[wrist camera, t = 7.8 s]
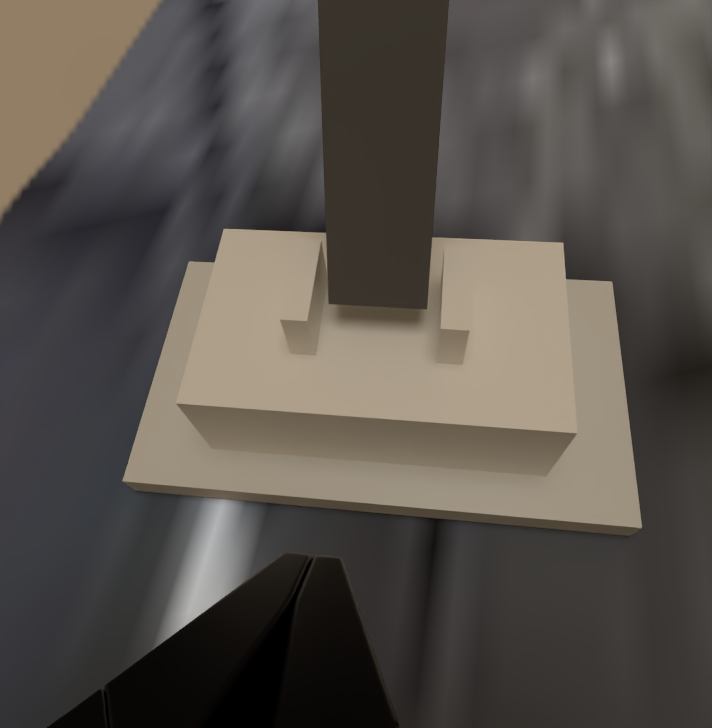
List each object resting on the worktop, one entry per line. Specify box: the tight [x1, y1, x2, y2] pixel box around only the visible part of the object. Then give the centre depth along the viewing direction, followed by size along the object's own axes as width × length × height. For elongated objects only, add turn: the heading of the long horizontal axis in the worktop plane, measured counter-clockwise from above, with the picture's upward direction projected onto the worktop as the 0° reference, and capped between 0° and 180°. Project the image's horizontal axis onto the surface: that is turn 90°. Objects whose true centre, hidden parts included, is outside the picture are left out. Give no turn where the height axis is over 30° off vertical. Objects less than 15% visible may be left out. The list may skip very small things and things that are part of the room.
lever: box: [318, 0, 449, 309], centre depth 15 cm, size 2×4×10 cm, turn 84°
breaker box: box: [123, 229, 642, 536], centre depth 20 cm, size 10×18×7 cm, turn 84°
